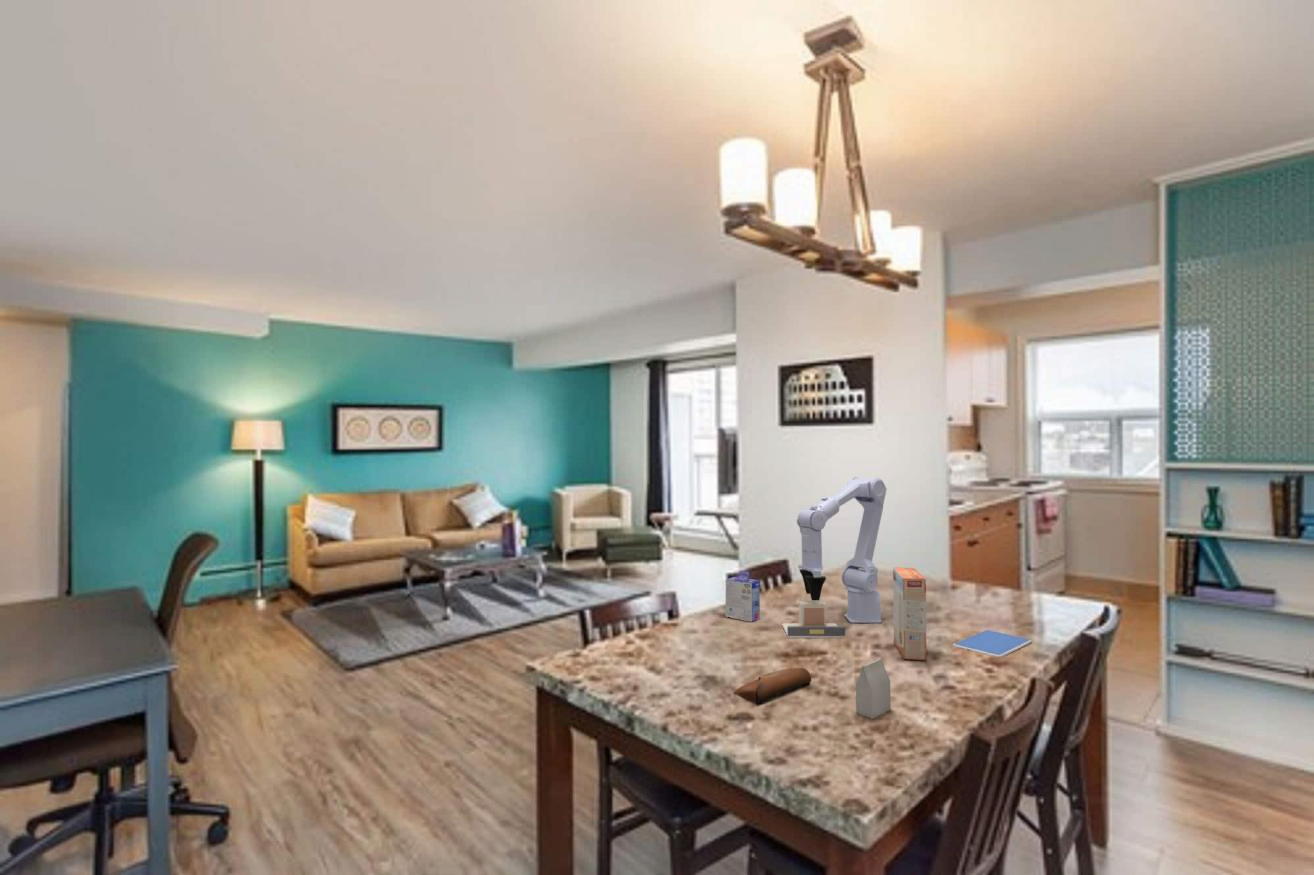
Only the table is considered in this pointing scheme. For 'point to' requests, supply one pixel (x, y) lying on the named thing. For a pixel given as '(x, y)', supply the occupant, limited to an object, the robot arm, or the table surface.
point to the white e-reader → (814, 631)
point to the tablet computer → (993, 643)
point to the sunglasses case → (773, 684)
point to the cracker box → (909, 613)
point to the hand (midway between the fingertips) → (812, 596)
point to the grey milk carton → (873, 690)
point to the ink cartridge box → (743, 598)
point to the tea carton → (812, 613)
